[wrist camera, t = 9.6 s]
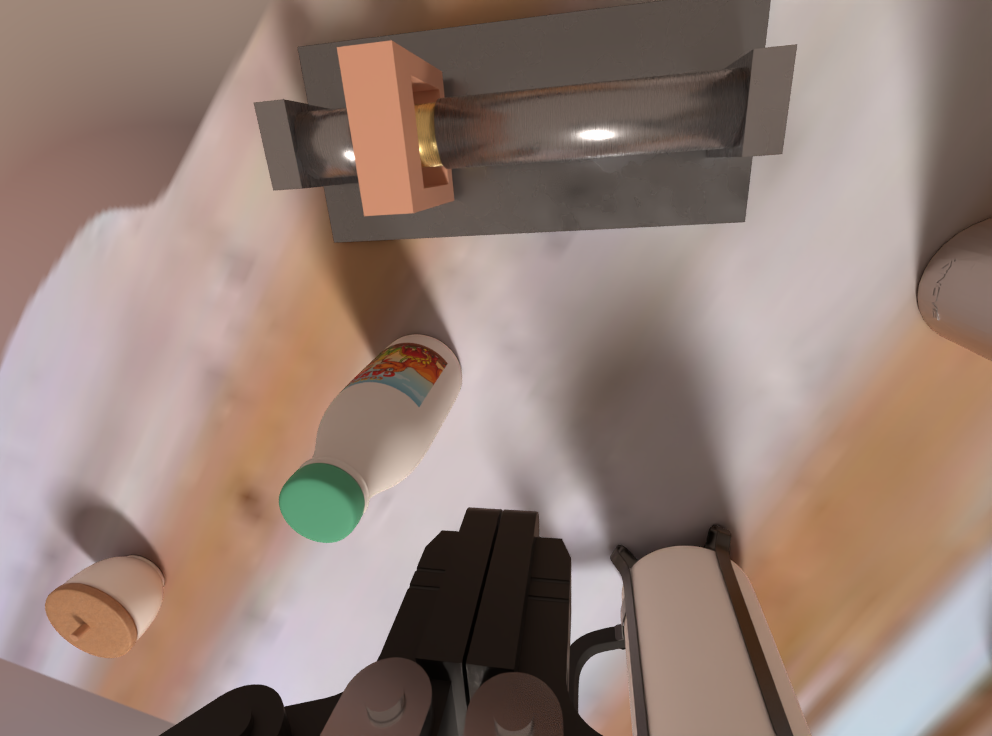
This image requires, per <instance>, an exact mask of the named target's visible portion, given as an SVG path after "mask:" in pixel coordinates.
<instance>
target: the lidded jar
mask: <svg viewBox="0 0 992 736" xmlns="http://www.w3.org/2000/svg"><path fill="white" fill-rule="evenodd" d="M164 583H165V580H164V576H163V574H162V572H161V571H160V569H159V568H158V567H157V566H156V565H155V564H154V563H152V562H151V561H150V560H148V559H146V558H144V557H141V556H137V555H129V556H126V557H112V558H108V559H104V560H101V561H99V562H96V563H94V564H92V565H90V566H89V567H87V568H85V569H83V570H82V571H80V572H79V573H77V574H76V575H74V576H73V577H72V578H70V579H69V580H68V581H67V582H65V583H64V584H63V585H61V586H59V587H58V588H56V589H55V590H54V591H53V592H51V593H50V594H49V595H48V597H47V599H46V603H45V610H46V614H47V616H48V619H49V621H50V622H51V624H52V626H53V627H54V628H55V629H56V631H57V632H58V633H59V634H60V635H61V636H62V637H63V638H64V639H66V640H67V641H68V642H69V643H71V644H72V645H74V646H75V647H77V648H79V649H80V650H82V651H84V652H87V653H89V654H92V655H95V656H98V657H104V658H115V657H120V656H122V655H124V654H126V653H127V652H128V651H129V650H130V649H131V648H132V647H133V646H134V644H135V643H136V641H137V640H138V639H139V638H140V637H141V636H142V635H143V633H144V632H145V631H146V630H147V629H148V627H149V626H150V625H151V623H152V622H153V620H154V619H155V617H156V616H157V614H158V612H159V610H160V607H161V605H162V601H163V595H164V589H163V587H164Z"/></svg>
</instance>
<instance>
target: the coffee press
mask: <svg viewBox="0 0 992 736" xmlns="http://www.w3.org/2000/svg"><path fill="white" fill-rule="evenodd" d="M730 540H731V533H730V531H729V530H726V529H724V528H722V527H719V526H717V525H713V526H712V527H711V528H710V530H709V532H708V536H707V540H706V544H705V546H704V548H702V547H696V546H672V547H667V548H663V549H659V550H657V551H654V552H652V553H650V554H648V555H646V556H644V557H643V558H641V559H640V560H638V559H636V558H635V557H634V556H633V554H632V553H631V552H630V551H629V550H628V549H627V548H626V547H624V546H621V545H618V546H617V547H616V549H615V550H614V552H613V553H612V555H611V556H610V559H611V561H612V562H613V564H614V565H615V567H616V568H617V569H618V571H619V572H620V574H621V576H622V580H623V587H622V606H621V624H619V625H616V626H615V627H609V628H604V629H600V630H597V631H593V632H590V633H588V634H586V635H584V636H582V637H580V638H579V639H577V640H576V641H575V642H574V643H572V644H571V646H570V659H569V689H568V694H569V697H570V699H571V702H572V704H573V706H574V708H575V710H576V711H577V712H578V688H579V676H580V672H581V670H582V667H583V666H584V664H585V663H586V661H587V660H588V659H589V658H590V657H592V656H593V655H595V654H597V653H600V652H604V651H609V650H615V649H622V650H624V649H626V659H627V671H628V683H629V696H630V708H631V720H632V732H633V736H812V735H811V733H810V730H809V728H808V725H807V723H806V720H805V718H804V715H803V713H802V710H801V708H800V705H799V702H798V700H797V697H796V695H795V692H794V690H793V687H792V685H791V682H790V680H789V677H788V675H787V672H786V669H785V667H784V664H783V662H782V659H781V657H780V654H779V652H778V649H777V647H776V644H775V642H774V639H773V637H772V634H771V631H770V629H769V626H768V624H767V621H766V619H765V616H764V614H763V611H762V609H761V606H760V604H759V601H758V599H757V596H756V594H755V592H754V589H753V587H752V585H751V582H750V581H749V579H748V577H747V576H746V574H745V573H744V572H743V570H742V569H741V568H740V567H739V566H738V565H737V564H735V563H734V562H733V561H732V560H730V556H729V548H730ZM629 568H630V569H629ZM623 622H624V626H623Z"/></svg>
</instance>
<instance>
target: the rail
mask: <svg viewBox="0 0 992 736" xmlns="http://www.w3.org/2000/svg"><path fill="white" fill-rule="evenodd" d="M770 2H771V0H663V1H656V2H648V3H640V4H632V5H624V6H616V7H608V8H601V9H593V10H585V11H577V12H569V13H561V14H553V15H546V16H538V17H530V18H522V19H514V20H506V21H498V22H491V23H483V24H475V25H467V26H459V27H451V28H443V29H436V30H428V31H420V32H412V33H404V34H396V35H388V36H381V37H373V38H365V39H357V40H349V41H341V42H333V43H326V44H318V45H310V46H302V47H298V52H299V57H300V63H301V68H302V73H303V79H304V84H305V89H306V95H307V100H308V104H304V103H299V102H294V101H289V100H284V99H283V100H274V101H264V102H255V103H254V106H255V111H256V115H257V120H258V124H259V129H260V133H261V138H262V142H263V146H264V151H265V155H266V160H267V164H268V169H269V173H270V178H271V182H272V187H273V190H287V189H301V188H311V187H321V186H324V191H325V196H326V201H327V207H328V212H329V217H330V223H331V228H332V233H333V238H334V242H354V241H375V240H395V239H415V238H435V237H455V236H475V235H495V234H515V233H535V232H556V231H576V230H596V229H616V228H636V227H656V226H676V225H696V224H716V223H737V222H745V217H746V208H747V200H748V191H749V183H750V174H751V165H752V157H753V156H762V155H776V154H782V152H783V145H784V138H785V130H786V123H787V116H788V108H789V101H790V94H791V86H792V79H793V72H794V64H795V57H796V50H797V44H796V45H786V46H777V47H768V48H765V45H766V36H767V27H768V19H769V10H770ZM391 40H392V41H394V42H395V43H397V44H398V45H400V46H402V47H403V48H405V49H406V50H408V51H410V52H411V53H413V54H415V55H416V56H418V57H419V58H421V59H423V60H424V61H426V62H427V63H429V64H431V65H432V66H434V67H436V68H437V69H439V70H440V71H442V76H443V86H444V97H445V98H438V99H437V101H436V102H434V103H424V104H414V108H415V116H416V125H417V134H418V142H419V151H420V159H421V168H424V167H437V166H444V167H445V168H446V169H451V170H452V181H453V191H454V201H451V202H448V203H445V204H442V205H439V206H435V207H432V208H429V209H426V210H422V211H419V212H416V213H409V214H392V215H375V216H364V212H363V206H362V200H361V193H360V187H359V181H358V175H357V169H356V163H355V156H354V150H353V144H352V138H351V132H350V126H349V119H348V113H347V107H346V101H345V95H344V89H343V82H342V76H341V70H340V64H339V58H338V52H337V47H343V46H351V45H359V44H367V43H375V42H383V41H391Z"/></svg>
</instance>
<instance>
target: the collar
mask: <svg viewBox="0 0 992 736" xmlns="http://www.w3.org/2000/svg"><path fill="white" fill-rule="evenodd" d="M337 52H338V58H339V64H340V70H341V76H342V82H343V89H344V95H345V101H346V107H347V113H348V119H349V126H350V132H351V138H352V144H353V150H354V156H355V163H356V169H357V175H358V181H359V187H360V193H361V200H362V206H363V212H364V216H375V215H392V214H409V213H416V212H419V211H422V210H426V209H429V208H432V207H435V206H439V205H442V204H445V203H448V202H451V201H454V191H453V181H452V170H451V169H446V168H445V167H444V166H437V167H424V168H421V159H420V151H419V142H418V134H417V125H416V116H415V108H414V104H424V103H434V102H436V101H437V99H438V98H445V97H444V86H443V76H442V71H440V70H439V69H437V68H436V67H434V66H432V65H431V64H429V63H427V62H426V61H424V60H423V59H421V58H419V57H418V56H416V55H415V54H413V53H411V52H410V51H408V50H406V49H405V48H403V47H402V46H400V45H398V44H397V43H395V42H394V41H392V40H391V41H383V42H375V43H367V44H359V45H351V46H343V47H337Z"/></svg>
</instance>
